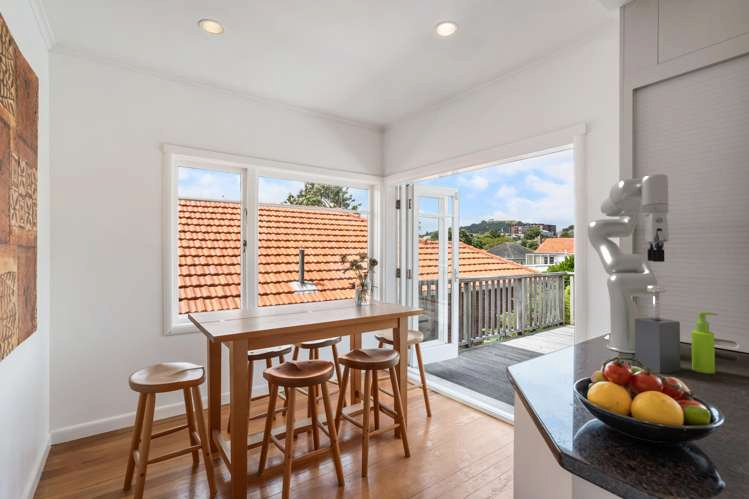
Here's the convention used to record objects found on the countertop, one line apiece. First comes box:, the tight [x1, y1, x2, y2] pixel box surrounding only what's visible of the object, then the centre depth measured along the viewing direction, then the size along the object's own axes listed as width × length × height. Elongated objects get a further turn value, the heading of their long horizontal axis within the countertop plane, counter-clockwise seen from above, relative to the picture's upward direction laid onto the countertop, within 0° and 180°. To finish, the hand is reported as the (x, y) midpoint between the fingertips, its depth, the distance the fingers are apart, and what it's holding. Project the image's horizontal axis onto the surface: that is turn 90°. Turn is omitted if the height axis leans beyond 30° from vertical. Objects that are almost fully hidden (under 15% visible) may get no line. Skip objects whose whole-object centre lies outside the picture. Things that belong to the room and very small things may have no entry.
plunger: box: [647, 284, 666, 321], centre depth 132 cm, size 6×6×19 cm
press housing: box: [634, 316, 681, 373], centre depth 132 cm, size 9×9×17 cm
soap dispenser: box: [691, 311, 718, 374], centre depth 128 cm, size 6×7×20 cm
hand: (655, 260), depth 132 cm, fingers open, 6 cm apart
